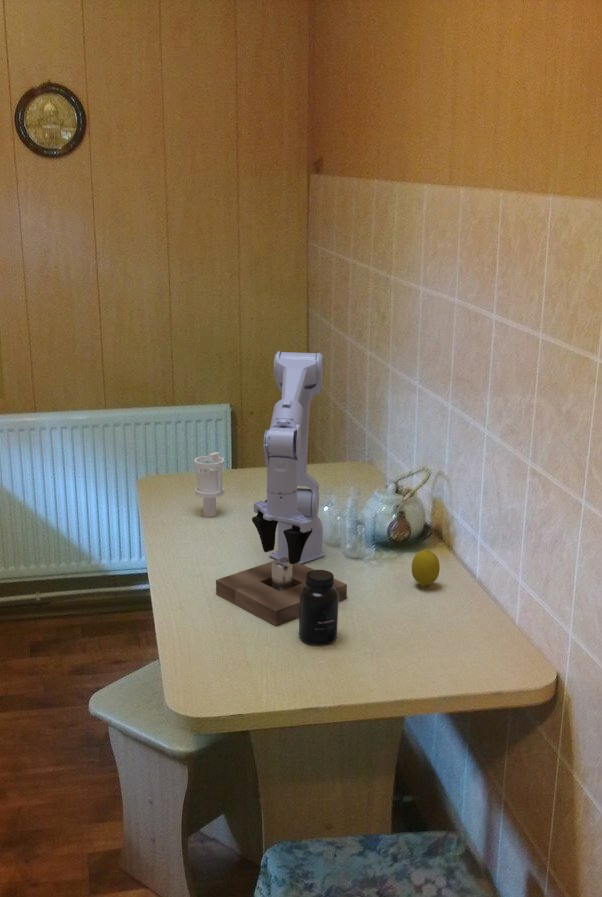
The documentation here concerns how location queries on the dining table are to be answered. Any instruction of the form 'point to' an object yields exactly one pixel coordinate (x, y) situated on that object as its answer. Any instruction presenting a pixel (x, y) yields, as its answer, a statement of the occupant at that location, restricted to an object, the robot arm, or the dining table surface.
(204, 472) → the strainer
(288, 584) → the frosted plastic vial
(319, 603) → the supplement bottle
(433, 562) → the lemon
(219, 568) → the dining table surface
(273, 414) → the robot arm
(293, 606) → the dock block
